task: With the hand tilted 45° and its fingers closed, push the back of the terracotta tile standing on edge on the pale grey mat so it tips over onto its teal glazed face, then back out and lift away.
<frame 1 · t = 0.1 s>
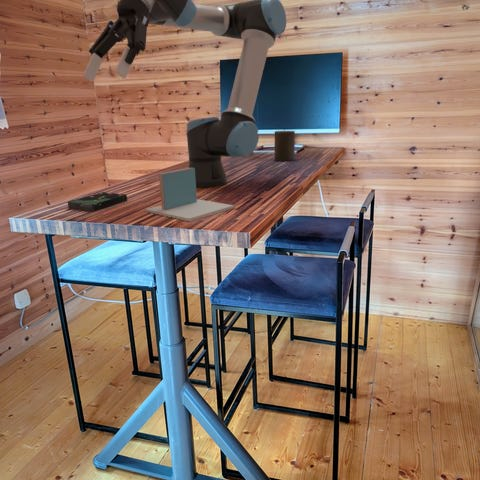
hand: (103, 76, 108), 36 cm above the table, tool tilted 35°, fingers open, 13 cm apart
mat: (189, 210, 125), on the table
tile: (179, 205, 127), point 1 cm above the table, touching mat
disk drive: (99, 207, 135), on the table
pillar candle: (284, 160, 215), on the table
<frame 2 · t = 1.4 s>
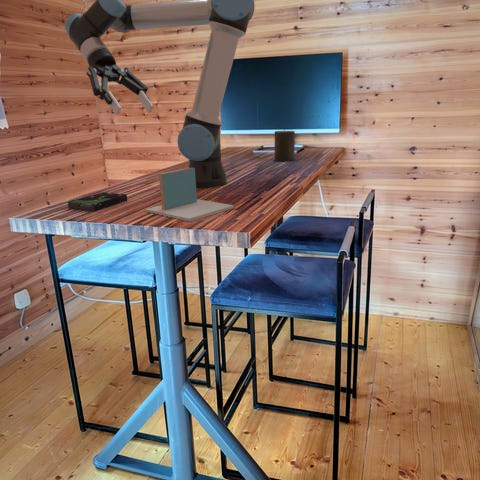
hand: (135, 110, 130), 27 cm above the table, tool tilted 45°, fingers open, 11 cm apart
nothing on the table moved.
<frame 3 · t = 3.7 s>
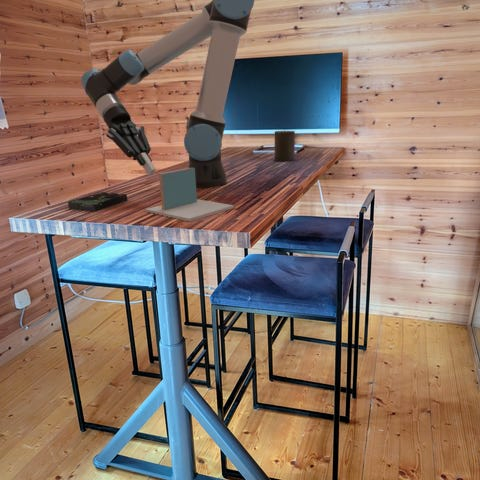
hand: (152, 172, 130), 10 cm above the table, tool tilted 45°, fingers closed
nothing on the table moved.
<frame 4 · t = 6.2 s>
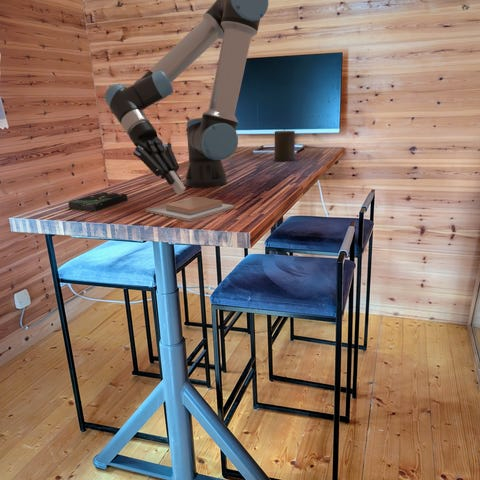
hand: (181, 191, 125), 5 cm above the table, tool tilted 45°, fingers closed
tile: (182, 203, 126), point 2 cm above the table, tilted 90°, touching mat
everything else where it was.
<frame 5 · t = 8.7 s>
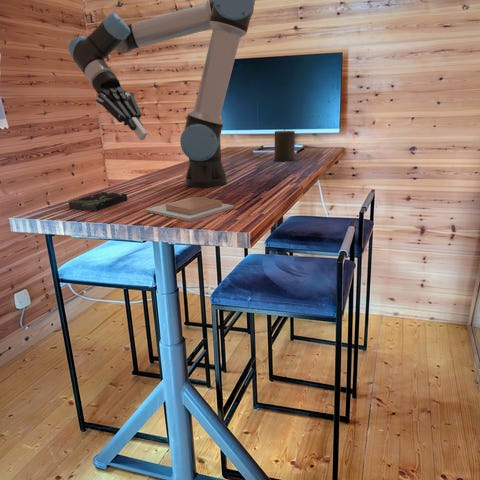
hand: (143, 136, 130), 20 cm above the table, tool tilted 45°, fingers closed
nothing on the table moved.
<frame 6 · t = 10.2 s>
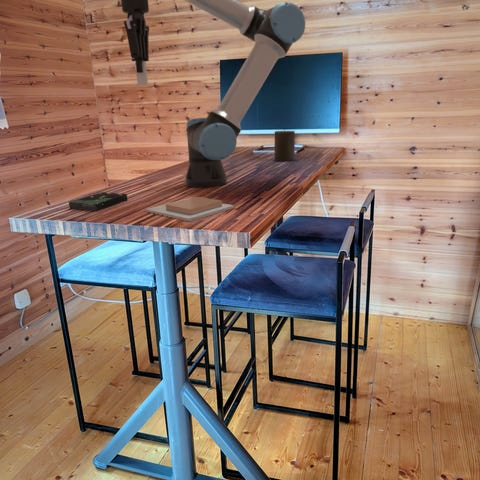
hand: (142, 84, 133), 34 cm above the table, tool pointing down, fingers closed
nothing on the table moved.
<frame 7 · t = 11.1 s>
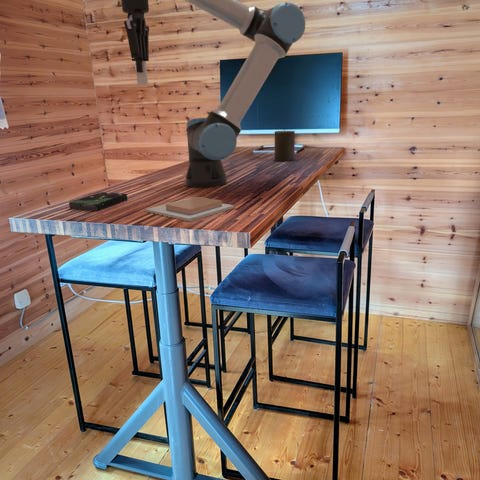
hand: (142, 84, 133), 34 cm above the table, tool pointing down, fingers closed
nothing on the table moved.
at the end: tile tilted 90°; tile inside the target area on the mat (1.7 cm from its centre), point 1.6 cm above the mat's base; the gripper is holding nothing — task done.
